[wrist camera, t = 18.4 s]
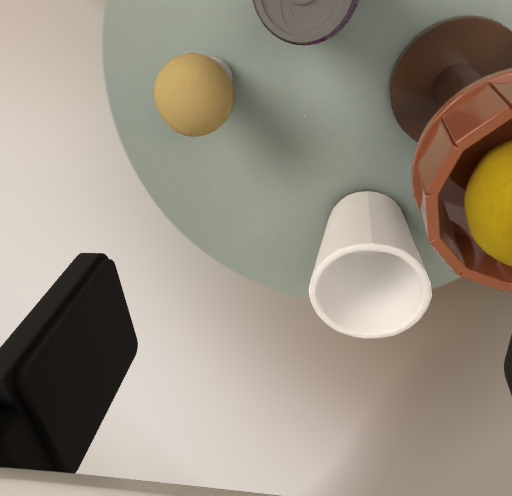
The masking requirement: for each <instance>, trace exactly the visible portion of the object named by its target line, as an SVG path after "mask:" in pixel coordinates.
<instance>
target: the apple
mask: <svg viewBox="0 0 512 496" xmlns="http://www.w3.org/2000/svg"><path fill="white" fill-rule="evenodd" d="M464 207H465V212H466V217H467V221H468V225H469V229H470V231H471V234H472V237H473V238H474V240H475V241H476V243H477V244H478V245H479V246H480V247H481V248H482V250H484V251H485V252H486V253H487V254H489V255H490V256H492V257H493V258H495V259H496V260H498V261H500V262H502V263H504V264H506V265H509V266H512V140H509V141H507V142H504V143H501V144H498V145H496V146H495V147H494V148H492V149H491V150H489V151H488V152H487V153H486V154H485V155H484V156H483V157H482V158H481V160H480V161H479V163H478V164H477V166H476V168H475V169H474V171H473V173H472V175H471V177H470V179H469V181H468V183H467V186H466V191H465V195H464Z"/></svg>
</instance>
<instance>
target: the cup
mask: <svg viewBox="0 0 512 496" xmlns="http://www.w3.org/2000/svg"><path fill="white" fill-rule="evenodd" d="M309 295H310V300H311V304H312V305H313V307H314V309H315V311H316V313H317V315H318V316H319V317H320V318H321V319H322V320H323V321H324V322H325V323H326V324H327V325H329V326H330V327H332V328H333V329H335V330H336V331H338V332H340V333H343V334H347V335H350V336H354V337H360V338H383V337H388V336H393V335H397V334H399V333H401V332H403V331H404V330H406V329H408V328H409V327H411V326H412V325H413V324H415V323H416V322H417V321H418V320H420V318H421V317H422V316H423V314H424V313H425V311H426V310H427V308H428V306H429V303H430V300H431V298H432V292H431V283H430V280H429V278H428V275H427V272H426V270H425V267H424V265H423V262H422V260H421V257H420V255H419V252H418V250H417V247H416V245H415V242H414V240H413V237H412V235H411V232H410V230H409V228H408V225H407V223H406V220H405V218H404V215H403V213H402V210H401V208H400V207H399V205H398V204H397V203H396V202H395V201H394V200H393V199H391V198H390V197H389V196H387V195H384V194H381V193H378V192H375V191H372V190H363V191H360V192H356V193H353V194H350V195H347V196H346V197H345V198H343V199H342V200H340V201H339V202H338V203H337V204H336V205H335V206H334V208H333V210H332V212H331V214H330V217H329V220H328V223H327V227H326V230H325V233H324V237H323V240H322V243H321V247H320V250H319V254H318V257H317V260H316V264H315V267H314V271H313V274H312V277H311V281H310V287H309Z"/></svg>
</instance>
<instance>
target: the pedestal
mask: <svg viewBox="0 0 512 496" xmlns="http://www.w3.org/2000/svg"><path fill="white" fill-rule="evenodd" d="M510 68H512V32H511V31H510V30H509V29H508V28H506V27H505V26H503V25H502V24H500V23H498V22H496V21H494V20H492V19H489V18H485V17H481V16H458V17H453V18H449V19H446V20H443V21H441V22H438V23H436V24H434V25H432V26H430V27H429V28H427V29H426V30H424V31H423V32H421V33H420V34H419V35H418V36H417V37H416V38H414V39H413V40H412V41H411V42H410V44H409V45H408V46H407V47H406V48H405V50H404V51H403V53H402V54H401V56H400V57H399V59H398V61H397V63H396V65H395V68H394V71H393V74H392V78H391V84H390V100H391V106H392V110H393V113H394V116H395V118H396V120H397V122H398V123H399V125H400V126H401V128H402V129H403V130H404V131H405V132H406V133H407V134H408V135H409V136H410V137H411V138H412V139H414V140H416V141H417V142H418V141H419V139H420V136H421V134H422V132H423V131H424V129H425V127H426V126H427V124H428V122H429V121H430V120H431V119H432V117H433V116H434V115H435V113H436V112H437V111H438V110H439V109H440V108H441V107H442V106H443V105H444V104H445V103H446V102H447V101H448V100H449V99H450V98H452V97H453V96H454V95H455V94H456V93H458V92H459V91H461V90H462V89H464V88H465V87H467V86H468V85H470V84H471V83H473V82H475V81H477V80H479V79H481V78H483V77H485V76H488V75H490V74H493V73H496V72H498V71H502V70H506V69H510Z"/></svg>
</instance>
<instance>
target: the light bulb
mask: <svg viewBox="0 0 512 496" xmlns="http://www.w3.org/2000/svg"><path fill="white" fill-rule="evenodd" d="M232 82H233V76H232V72H231V69H230V67H229V66H228V64H227V63H226V62H225V61H224V60H222V59H220V58H218V57H215V56H205V55H202V54H194V53H191V54H184V55H181V56H178V57H176V58H174V59H172V60H171V61H169V62H168V63H167V64H166V65H165V66H164V67H163V68H162V70H161V71H160V73H159V74H158V77H157V79H156V81H155V86H154V101H155V104H156V107H157V110H158V112H159V113H160V115H161V117H162V119H163V120H164V121H165V122H166V123H167V124H168V125H169V126H170V127H171V128H172V129H173V130H174V131H176V132H178V133H180V134H182V135H185V136H193V137H194V136H202V135H206V134H209V133H211V132H213V131H215V130H217V129H218V128H219V127H220V126H222V125H223V124H224V122H225V121H226V120H227V118H228V117H229V115H230V112H231V110H232V107H233V101H234V93H233V86H232Z"/></svg>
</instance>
